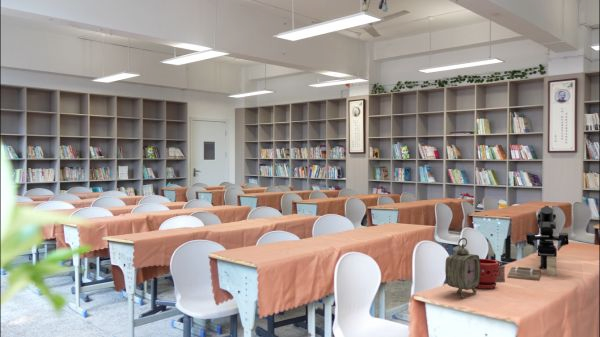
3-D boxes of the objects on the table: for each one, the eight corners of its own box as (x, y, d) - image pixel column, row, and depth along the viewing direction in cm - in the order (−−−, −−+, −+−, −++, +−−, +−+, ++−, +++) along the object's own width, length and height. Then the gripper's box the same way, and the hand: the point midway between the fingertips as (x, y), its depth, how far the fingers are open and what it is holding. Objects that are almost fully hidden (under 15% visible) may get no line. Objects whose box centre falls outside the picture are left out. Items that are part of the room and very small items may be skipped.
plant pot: (499, 291, 218) (499, 264, 217) (468, 288, 222) (468, 262, 222) (498, 283, 230) (498, 258, 230) (468, 281, 234) (468, 256, 234)
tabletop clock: (463, 300, 205) (462, 241, 204) (444, 295, 212) (443, 238, 211) (480, 293, 215) (479, 236, 214) (461, 289, 221) (461, 234, 221)
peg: (547, 274, 246) (547, 256, 246) (556, 274, 244) (556, 257, 244) (546, 275, 243) (546, 257, 242) (556, 276, 241) (555, 258, 240)
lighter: (503, 280, 236) (503, 259, 236) (506, 282, 232) (505, 261, 232) (486, 280, 237) (486, 259, 236) (488, 281, 233) (488, 261, 233)
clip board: (511, 269, 258) (511, 262, 258) (541, 271, 251) (541, 264, 251) (507, 277, 240) (507, 270, 240) (538, 280, 234) (538, 273, 233)
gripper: (525, 217, 250) (525, 237, 238) (566, 216, 241) (568, 237, 230) (527, 233, 255) (527, 254, 244) (567, 233, 246) (569, 255, 235)
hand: (547, 250), depth 238 cm, fingers open, 9 cm apart
